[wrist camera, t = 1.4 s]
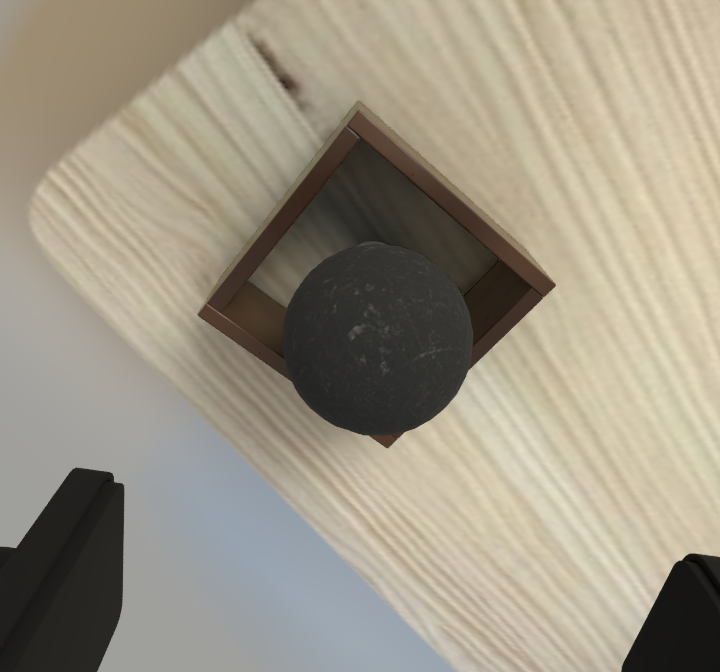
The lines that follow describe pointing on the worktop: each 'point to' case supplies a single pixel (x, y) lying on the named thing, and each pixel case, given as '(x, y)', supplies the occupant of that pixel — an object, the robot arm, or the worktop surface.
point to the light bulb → (377, 339)
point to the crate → (516, 266)
